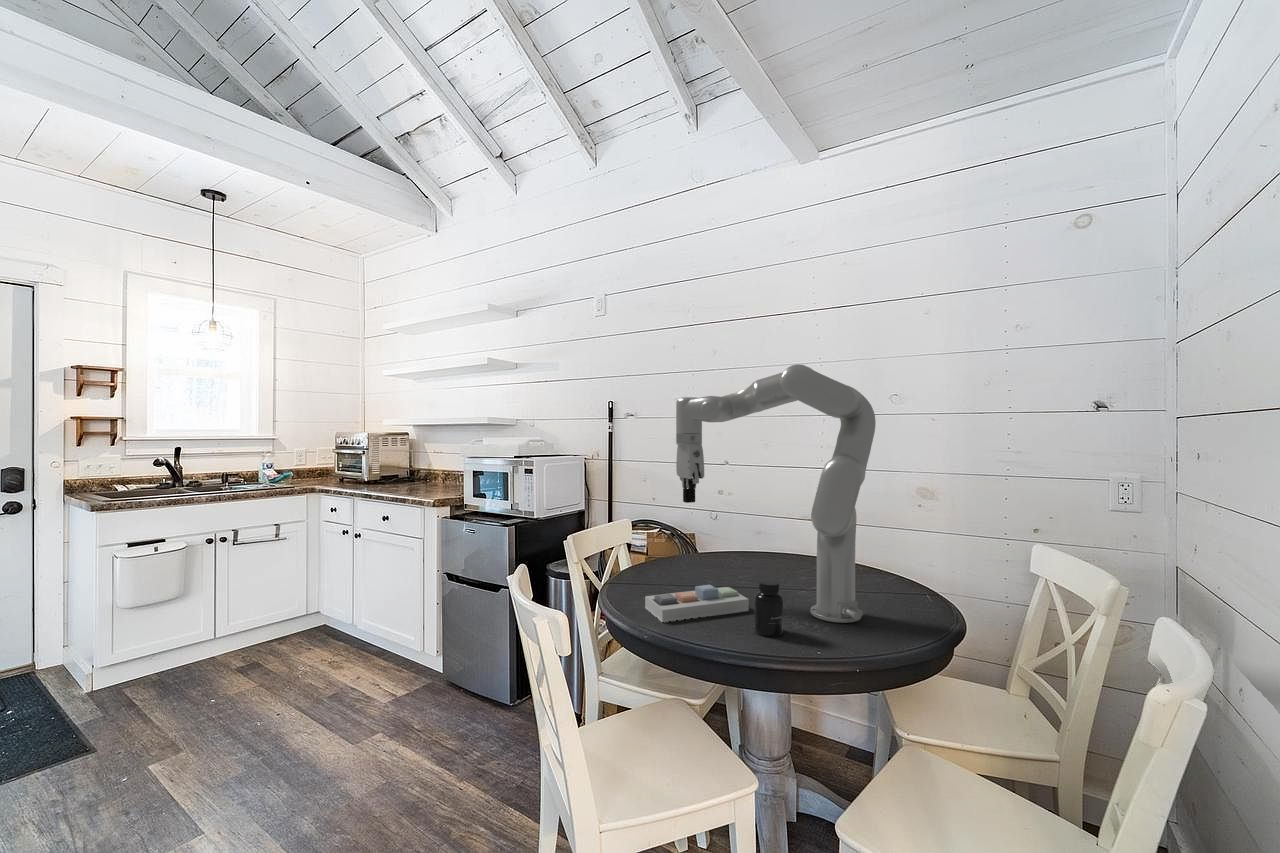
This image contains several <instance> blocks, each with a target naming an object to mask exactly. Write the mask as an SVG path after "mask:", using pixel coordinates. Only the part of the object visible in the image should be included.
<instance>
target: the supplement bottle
mask: <svg viewBox="0 0 1280 853" xmlns="http://www.w3.org/2000/svg"><path fill="white" fill-rule="evenodd" d="M780 591H781V590H780V582H778V581H776V580H771V579H768V580H767V579H763V580H760V581H759V583H758V592H756V593H755V595H754V606H753V607H754V608H753V609H754V610H753V612H754V615H753V616H754V617H753V618H754V619H753V620H754V621H753V629H754V632H755V633H756V634H757V635H760V636H764V637H769V638H770V637H774V638H775V637H779V636H781V635H782V634H783V633H784V597H783V595H782V594H781V593H779V592H780Z"/></svg>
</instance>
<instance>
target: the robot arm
mask: <svg viewBox="0 0 1280 853" xmlns="http://www.w3.org/2000/svg"><path fill="white" fill-rule="evenodd" d="M798 401H799V402H800V403H802V404H804V405H807V406H809V407H811V408H813V409H814V410H817V411H819V412H821V413H823V414H825V415H827V416H829V417H832V418H837V419H839V420H840V429H839V432H838V435H837V438H836V444H835V447H834V451H833V453H832V457H831V459H829V460H828V461H827V462H826V463H825V464H824V467H823V468H822V471H821V474H820V477H819V481H818V484H817V489H816V492H815V497H814V501H813V504H812V508H811V516H810V518H811V519H810V520H811V523H812V525H813V527H814V529H815V530H816V531H817V535H816V536H817V537H816V604H814V605H812V606H811V607H810V614H811V615H812V616H813V617H815V618H816V619H819V620H821V621H826V622H829V623H830V622H831V623H837V624H838V623H839V624H844V623H845V624H847V623H850V624H851V623H854V622H855V623H856V622H858V621H860V620H862V617H863V616H864V611H863V610H862V609H859V608H858V601H857V600H856V533H857V510H856V504H857V502H858V501H857V500H858V497H859V493H860V489H861V487H862V485H863V483H864V481H865V478H866V473H867V472H866V471H867V465H868V461H869V458H870V455H871V450H872V446H873V442H874V437H875V432H876V414H875V411H874V408H873V407H872V404H871V403H870V402H869V400H868V399H867V397H865V396H864V395H863V394H862V392H860V391H858V389H856V388H854V387H852V386H850V385H847V384H844V383H842V382H840V381H837V380H835V379H834V378H831V377H829V376H827V375H824V374H822V373H820V372H818V371H815V370H814V369H812V367H809V366H807V365H804V364H793V365H790V366H788V367H787V368H785V369H784V371H782V372H778V373H776V374H773V375H769V376H767V377H763V378H760V379H756V380H755V381H753V382H752V383H751V384H750V385H749V386H748V387H746V388H744V389H742V390H739V391H736V392H733V393H729V394H726V395H723V396H717V395H708V396H707V395H706V396H701V397H695V396H693V397H692V396H689V397H687V396H685V397H684V396H683V397H679V398H677V399H676V402H675V404H676V406H675V408H676V410H675V414H676V415H675V419H676V422H675V424H676V426H675V428H676V430H675V436H676V437H675V441H676V443H675V444H676V446H677V448H676V449H677V450H676V461H675V462H676V464H675V465H676V470H675V471H676V475H677V476H678V477H679V481H681V486H682V502H684V503H686V504H687V503H688V504H689V503H696V489H697V485H698V484H699V483H700V479H704V478H705V456H704V450H703V422H705V423H724V422H729V421H732V420H735V419H739V418H743V417H746V416H749V415H753V414H755V413H760V412H763V411H765V410H769V409H772V408H773V409H774V408H777V407H780V406H782V405H786V404H789V403H790V404H791V403H794V402H798Z"/></svg>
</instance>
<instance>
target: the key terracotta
mask: <svg viewBox="0 0 1280 853" xmlns="http://www.w3.org/2000/svg"><path fill="white" fill-rule="evenodd" d="M682 592H683V593H679V592H674V593H675V598H677V600H678V601H679V602H681V603H687V602H695V601H698V596H697V595H695V594H693V593H692V592H687V591H682Z"/></svg>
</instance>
